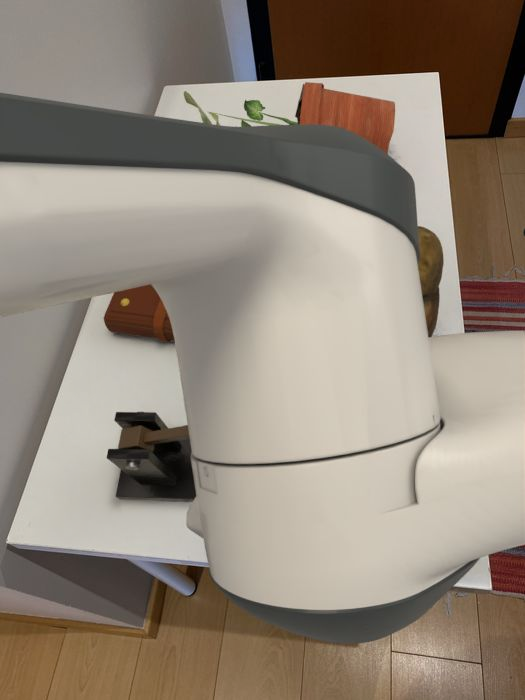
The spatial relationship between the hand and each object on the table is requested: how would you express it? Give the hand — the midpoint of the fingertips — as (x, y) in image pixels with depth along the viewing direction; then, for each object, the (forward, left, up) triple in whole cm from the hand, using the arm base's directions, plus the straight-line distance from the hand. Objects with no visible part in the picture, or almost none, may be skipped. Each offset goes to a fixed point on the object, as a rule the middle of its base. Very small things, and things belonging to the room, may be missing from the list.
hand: (236, 412), depth 43 cm
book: (+28, +5, -20) cm, 35 cm away
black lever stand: (+1, +12, -20) cm, 23 cm away
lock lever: (+1, +7, -9) cm, 11 cm away
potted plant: (+51, 0, -20) cm, 54 cm away
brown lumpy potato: (+18, -16, -20) cm, 31 cm away
